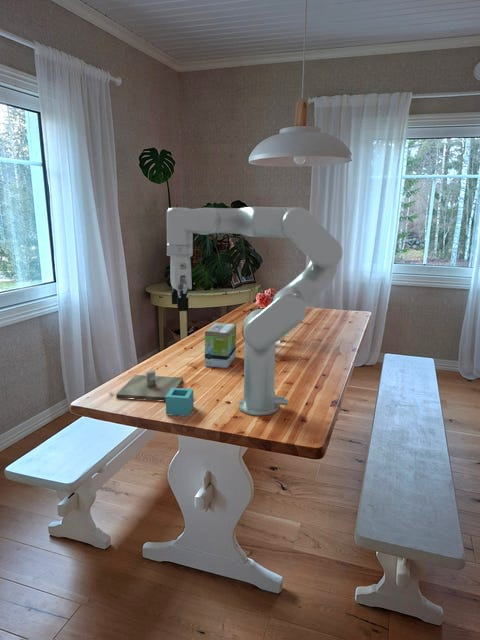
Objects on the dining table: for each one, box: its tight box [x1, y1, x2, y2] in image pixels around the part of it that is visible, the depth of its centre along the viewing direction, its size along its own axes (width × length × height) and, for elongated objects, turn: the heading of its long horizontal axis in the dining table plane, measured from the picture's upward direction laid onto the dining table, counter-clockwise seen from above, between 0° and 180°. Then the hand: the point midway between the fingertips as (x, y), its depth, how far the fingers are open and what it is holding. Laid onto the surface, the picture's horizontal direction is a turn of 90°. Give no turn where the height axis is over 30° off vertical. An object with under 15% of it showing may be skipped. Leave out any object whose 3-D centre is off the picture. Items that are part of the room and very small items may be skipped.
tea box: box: [204, 322, 237, 369], centre depth 183 cm, size 15×10×15 cm
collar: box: [165, 387, 195, 417], centre depth 139 cm, size 7×7×6 cm
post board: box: [115, 370, 184, 402], centre depth 155 cm, size 18×18×6 cm
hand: (179, 307), depth 136 cm, fingers open, 9 cm apart
